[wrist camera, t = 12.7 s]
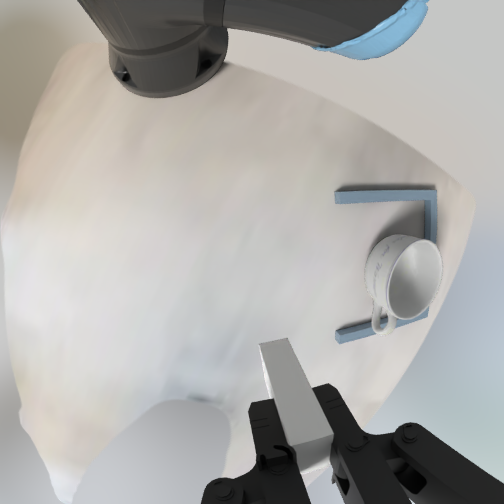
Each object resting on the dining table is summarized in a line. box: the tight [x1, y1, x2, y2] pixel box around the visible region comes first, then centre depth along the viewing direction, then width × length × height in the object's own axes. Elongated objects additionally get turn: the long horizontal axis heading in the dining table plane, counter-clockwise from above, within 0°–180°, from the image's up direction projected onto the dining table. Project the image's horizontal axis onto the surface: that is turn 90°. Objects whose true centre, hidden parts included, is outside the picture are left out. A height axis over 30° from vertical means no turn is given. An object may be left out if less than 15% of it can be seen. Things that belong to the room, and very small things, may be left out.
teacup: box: [365, 234, 443, 336], centre depth 33 cm, size 14×11×8 cm
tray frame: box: [335, 190, 437, 344], centre depth 36 cm, size 22×18×2 cm
